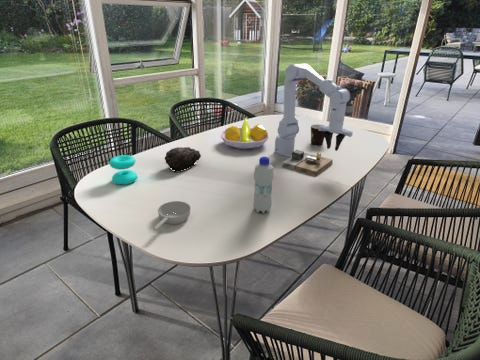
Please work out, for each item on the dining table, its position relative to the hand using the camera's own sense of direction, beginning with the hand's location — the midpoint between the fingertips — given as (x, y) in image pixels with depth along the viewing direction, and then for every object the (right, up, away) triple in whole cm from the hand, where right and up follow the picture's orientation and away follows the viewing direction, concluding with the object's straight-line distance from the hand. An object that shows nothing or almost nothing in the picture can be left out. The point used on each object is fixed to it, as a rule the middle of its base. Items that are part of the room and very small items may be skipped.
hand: (332, 149), depth 142 cm
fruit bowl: (-38, +6, +36) cm, 53 cm away
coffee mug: (+2, +7, +39) cm, 40 cm away
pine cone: (-67, -7, +8) cm, 68 cm away
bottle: (-33, -24, -27) cm, 49 cm away
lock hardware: (-10, -4, +11) cm, 15 cm away
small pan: (-64, -28, -36) cm, 78 cm away
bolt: (-7, -5, +8) cm, 12 cm away
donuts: (-89, -14, -7) cm, 90 cm away
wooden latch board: (-8, -7, +10) cm, 15 cm away
